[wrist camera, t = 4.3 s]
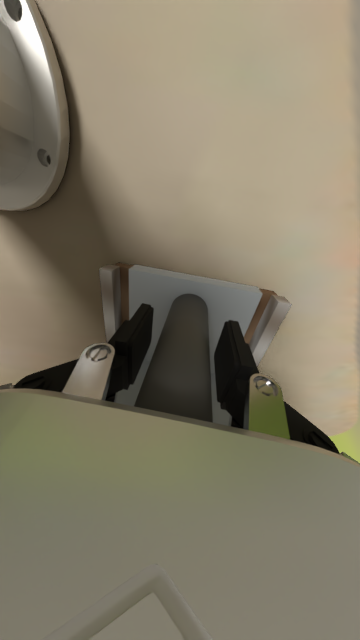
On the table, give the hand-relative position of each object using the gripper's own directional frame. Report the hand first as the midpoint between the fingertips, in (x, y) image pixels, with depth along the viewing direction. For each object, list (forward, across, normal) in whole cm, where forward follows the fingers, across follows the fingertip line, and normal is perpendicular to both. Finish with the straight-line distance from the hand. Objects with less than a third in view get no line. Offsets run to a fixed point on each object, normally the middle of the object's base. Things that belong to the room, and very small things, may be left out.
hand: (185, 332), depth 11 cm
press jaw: (+5, 0, +3) cm, 6 cm away
